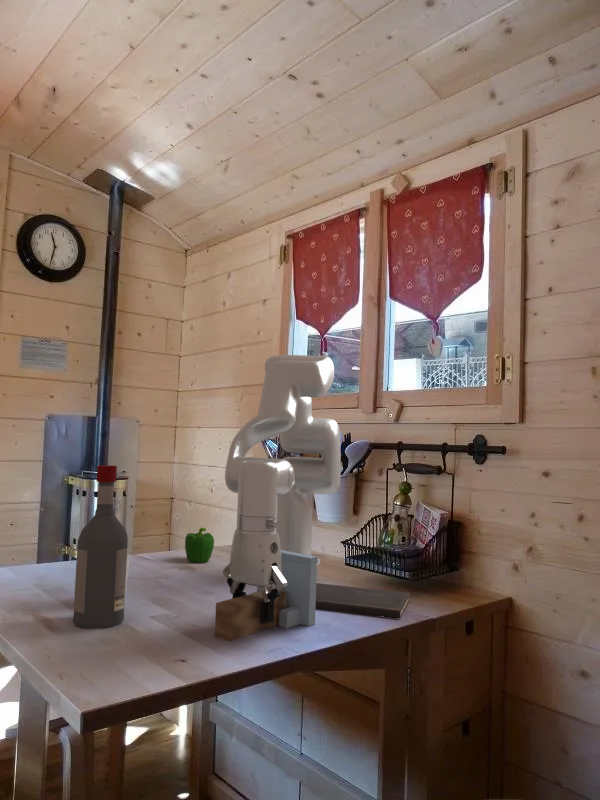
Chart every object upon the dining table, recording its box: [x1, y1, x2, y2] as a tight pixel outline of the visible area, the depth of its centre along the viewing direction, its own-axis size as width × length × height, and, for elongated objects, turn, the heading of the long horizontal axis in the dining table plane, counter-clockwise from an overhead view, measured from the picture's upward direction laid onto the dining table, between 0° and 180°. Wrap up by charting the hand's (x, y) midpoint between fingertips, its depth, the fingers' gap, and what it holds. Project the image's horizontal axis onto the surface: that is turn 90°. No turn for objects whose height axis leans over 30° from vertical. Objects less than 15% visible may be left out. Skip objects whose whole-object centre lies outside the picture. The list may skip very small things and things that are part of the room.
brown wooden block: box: [214, 589, 287, 642], centre depth 117 cm, size 16×4×6 cm, turn 143°
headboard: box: [256, 550, 319, 629], centre depth 124 cm, size 6×14×13 cm, turn 52°
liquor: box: [72, 464, 129, 629], centre depth 119 cm, size 9×9×30 cm
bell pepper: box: [184, 527, 215, 564], centre depth 177 cm, size 8×8×10 cm
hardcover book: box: [315, 582, 411, 619], centre depth 138 cm, size 16×23×2 cm
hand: (252, 617), depth 117 cm, fingers open, 6 cm apart
